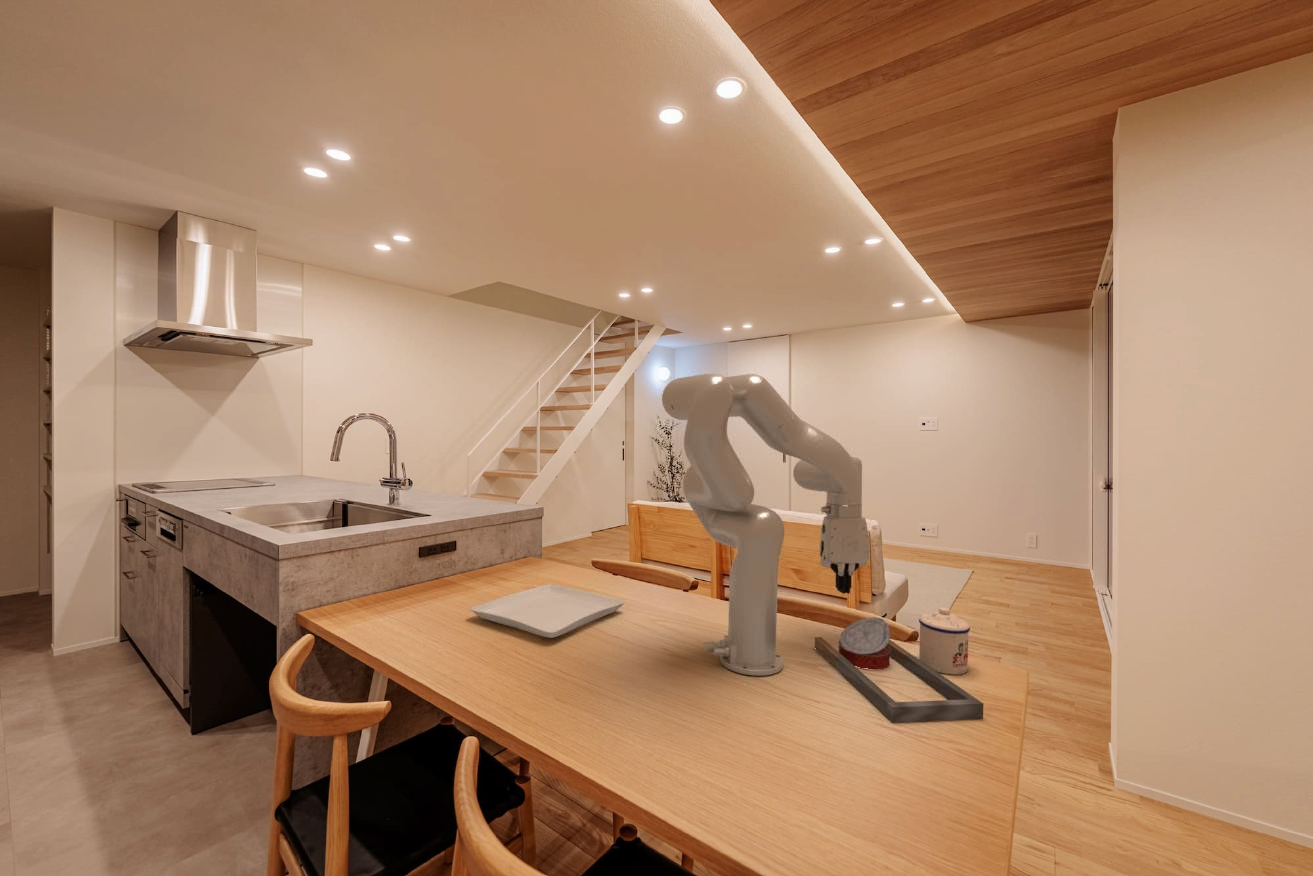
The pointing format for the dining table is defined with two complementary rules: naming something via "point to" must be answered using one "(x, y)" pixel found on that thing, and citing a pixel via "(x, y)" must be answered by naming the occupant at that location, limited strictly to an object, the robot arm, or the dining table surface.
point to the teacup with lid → (944, 642)
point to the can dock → (916, 711)
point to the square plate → (548, 609)
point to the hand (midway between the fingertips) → (843, 591)
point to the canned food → (866, 643)
